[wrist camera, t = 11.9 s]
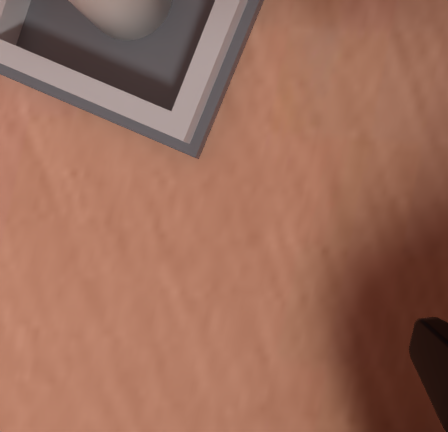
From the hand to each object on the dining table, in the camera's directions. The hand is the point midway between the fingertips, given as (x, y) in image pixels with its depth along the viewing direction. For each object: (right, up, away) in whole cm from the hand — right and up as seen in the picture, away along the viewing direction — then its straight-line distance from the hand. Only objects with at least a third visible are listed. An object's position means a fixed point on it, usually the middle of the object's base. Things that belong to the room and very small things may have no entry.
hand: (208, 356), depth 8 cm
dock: (-4, +14, +12) cm, 18 cm away
